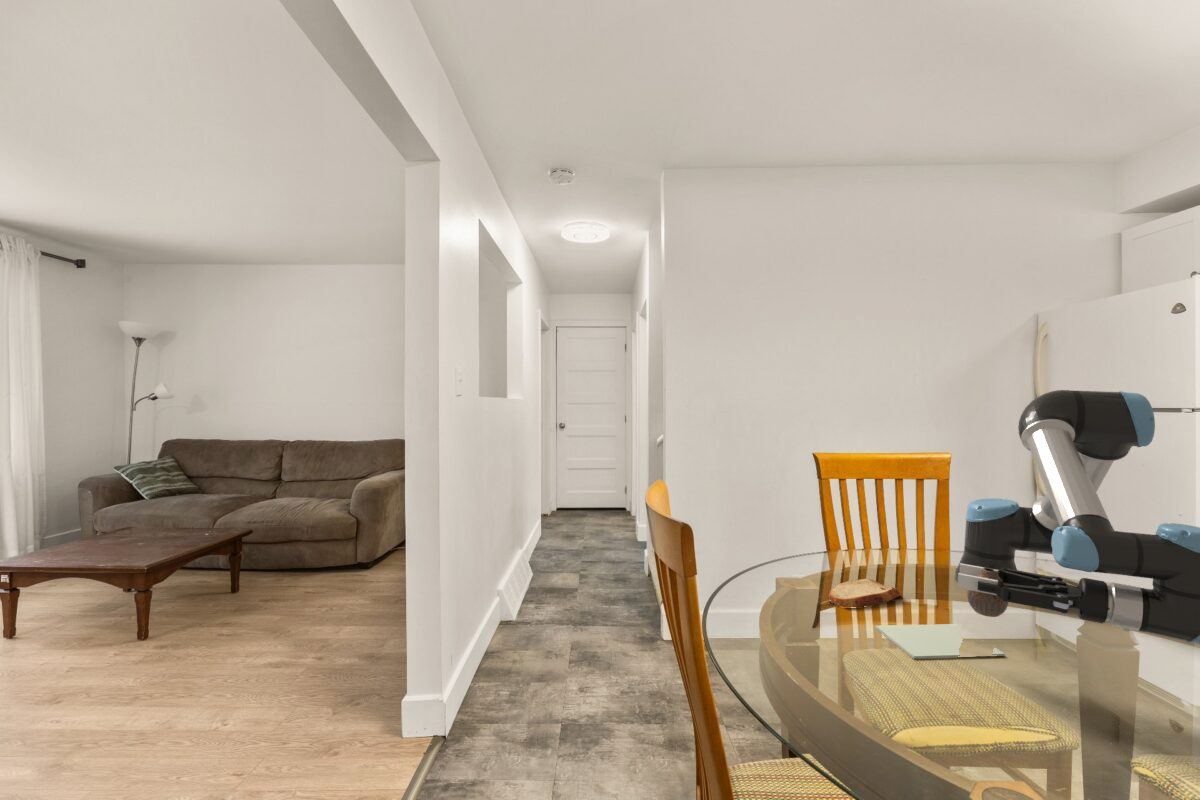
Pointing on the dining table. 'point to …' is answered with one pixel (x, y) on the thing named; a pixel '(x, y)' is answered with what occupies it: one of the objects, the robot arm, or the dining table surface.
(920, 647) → the mat
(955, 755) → the dining table surface
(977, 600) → the vase
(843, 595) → the slice of bread
